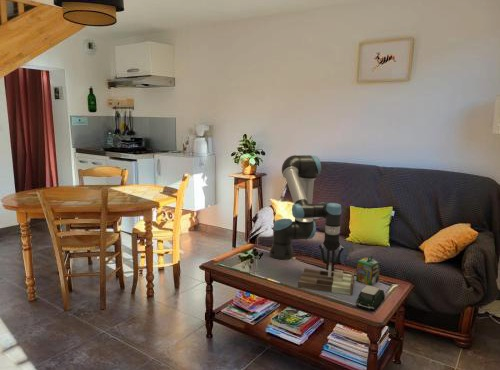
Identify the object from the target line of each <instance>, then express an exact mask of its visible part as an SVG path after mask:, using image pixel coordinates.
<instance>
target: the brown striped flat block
mask: <svg viewBox="0 0 500 370" xmlns="http://www.w3.org/2000/svg"><path fill="white" fill-rule="evenodd" d="M355 270H356V269H352V272H351V274H349V273H343V280H342V282H338V281H333V276H334V271H331V277H328V270H320V269H319V270H318V269H315V268H314V269H312V268H304V270H303V271H302V274H301V275H300V278H299V279H298V281H297V282H298V283H297V288H303V289H309V290H315V291H322V292H328V293H333V294H334V293H335V294H343V295H348V296H353V291H354V282H355Z"/></svg>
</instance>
